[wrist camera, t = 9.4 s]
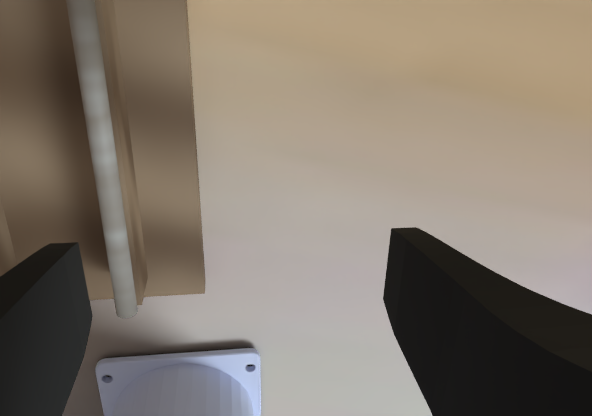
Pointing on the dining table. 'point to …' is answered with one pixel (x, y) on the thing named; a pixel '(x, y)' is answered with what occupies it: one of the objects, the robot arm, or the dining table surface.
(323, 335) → the dining table surface
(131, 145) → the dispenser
